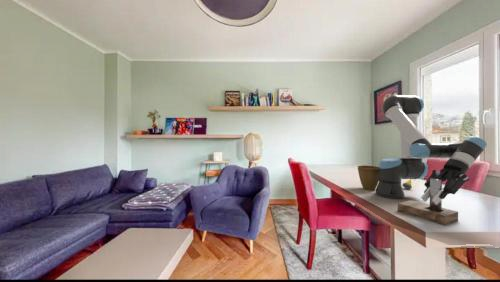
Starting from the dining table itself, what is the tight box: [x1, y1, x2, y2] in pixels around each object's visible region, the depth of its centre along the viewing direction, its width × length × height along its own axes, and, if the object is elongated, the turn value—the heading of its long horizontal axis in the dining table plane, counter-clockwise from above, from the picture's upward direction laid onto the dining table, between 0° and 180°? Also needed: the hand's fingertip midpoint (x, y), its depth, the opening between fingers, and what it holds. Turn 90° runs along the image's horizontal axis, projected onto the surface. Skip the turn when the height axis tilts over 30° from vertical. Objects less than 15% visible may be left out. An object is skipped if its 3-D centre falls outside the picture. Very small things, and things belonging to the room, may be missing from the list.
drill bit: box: [402, 179, 413, 191], centre depth 143 cm, size 5×5×10 cm
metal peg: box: [429, 178, 443, 211], centre depth 90 cm, size 4×4×14 cm
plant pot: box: [357, 164, 379, 191], centre depth 141 cm, size 15×15×16 cm
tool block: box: [397, 199, 459, 226], centre depth 93 cm, size 18×12×4 cm, turn 25°
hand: (428, 201), depth 89 cm, fingers closed on metal peg, 4 cm apart
